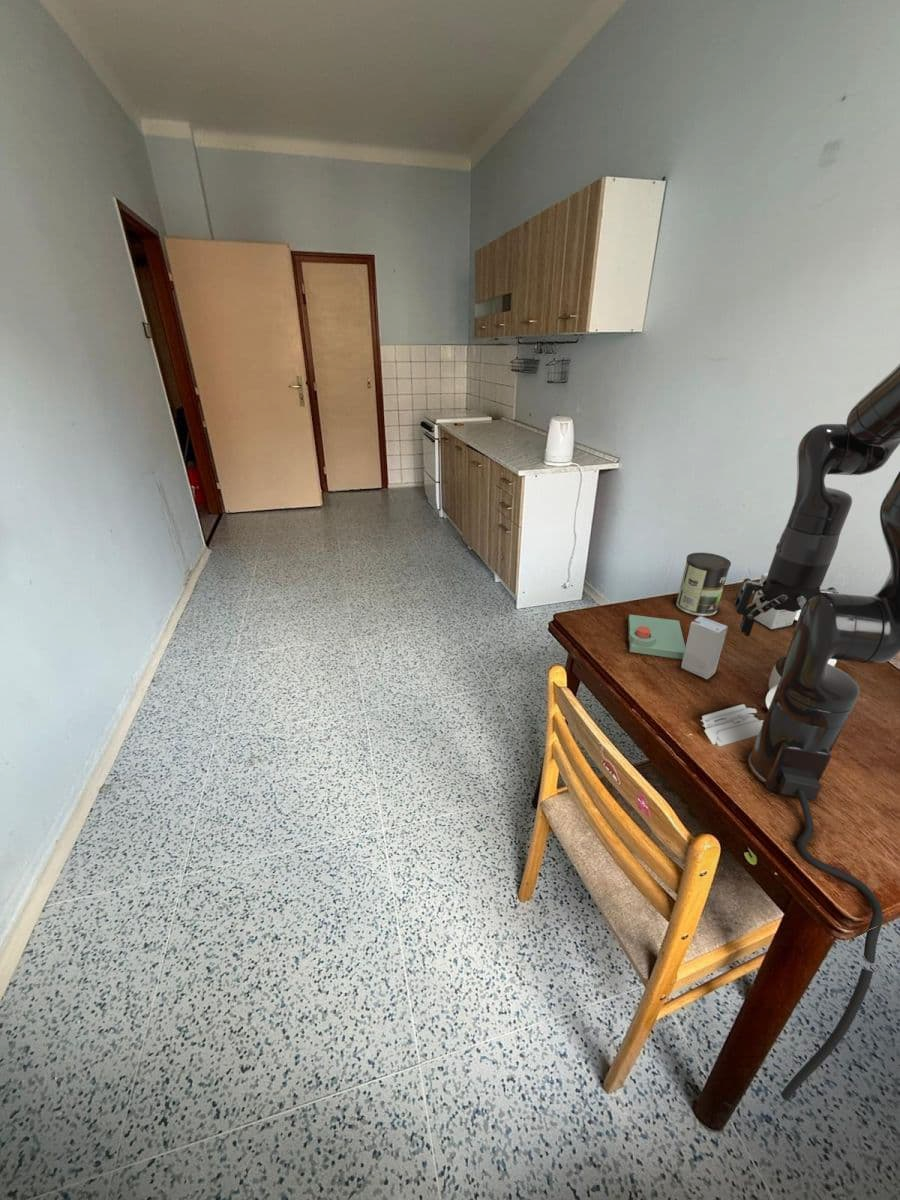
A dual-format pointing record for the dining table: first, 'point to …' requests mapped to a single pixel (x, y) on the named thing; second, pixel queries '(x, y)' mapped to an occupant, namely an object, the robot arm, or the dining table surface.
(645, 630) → the button
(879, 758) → the dining table surface
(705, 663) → the cosmetic box
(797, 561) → the robot arm
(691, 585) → the coffee can
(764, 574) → the white packaging box
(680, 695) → the dining table surface
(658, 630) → the green kitchen scale
